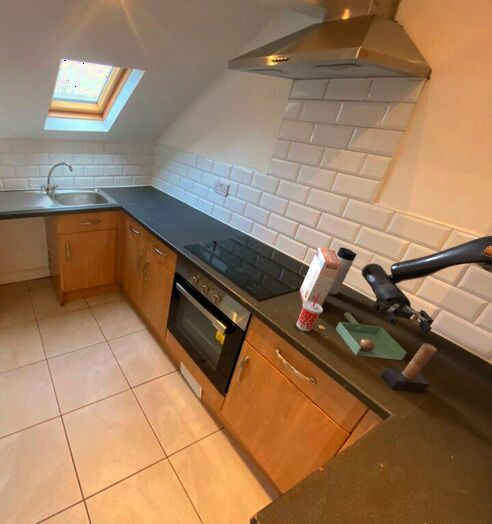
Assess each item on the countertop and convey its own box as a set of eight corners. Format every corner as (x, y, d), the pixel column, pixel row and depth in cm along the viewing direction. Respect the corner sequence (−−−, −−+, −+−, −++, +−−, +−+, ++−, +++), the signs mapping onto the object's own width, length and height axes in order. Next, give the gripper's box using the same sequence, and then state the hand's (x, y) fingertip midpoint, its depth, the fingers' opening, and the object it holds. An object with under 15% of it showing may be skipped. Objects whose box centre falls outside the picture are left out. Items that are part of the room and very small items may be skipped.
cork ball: (374, 355, 95) (367, 349, 98) (379, 344, 94) (372, 338, 98) (361, 351, 95) (354, 345, 99) (366, 340, 94) (359, 334, 98)
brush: (411, 379, 88) (439, 342, 81) (423, 392, 84) (454, 355, 77) (381, 376, 88) (406, 339, 81) (391, 389, 84) (419, 351, 77)
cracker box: (319, 313, 113) (343, 265, 103) (302, 308, 115) (324, 260, 105) (314, 294, 125) (335, 249, 115) (299, 290, 127) (318, 245, 117)
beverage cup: (305, 334, 101) (321, 301, 94) (290, 323, 106) (304, 290, 99) (316, 330, 104) (333, 297, 97) (301, 319, 109) (316, 287, 102)
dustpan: (402, 360, 95) (407, 353, 93) (355, 355, 95) (360, 347, 93) (363, 319, 113) (367, 312, 111) (324, 314, 113) (327, 308, 111)
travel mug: (317, 286, 131) (335, 245, 121) (330, 287, 132) (350, 246, 122) (326, 295, 125) (346, 252, 116) (340, 295, 126) (361, 253, 117)
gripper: (373, 283, 103) (390, 309, 89) (421, 295, 99) (447, 323, 86) (363, 301, 107) (378, 329, 93) (409, 312, 103) (432, 343, 89)
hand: (411, 326), depth 89 cm, fingers open, 8 cm apart
